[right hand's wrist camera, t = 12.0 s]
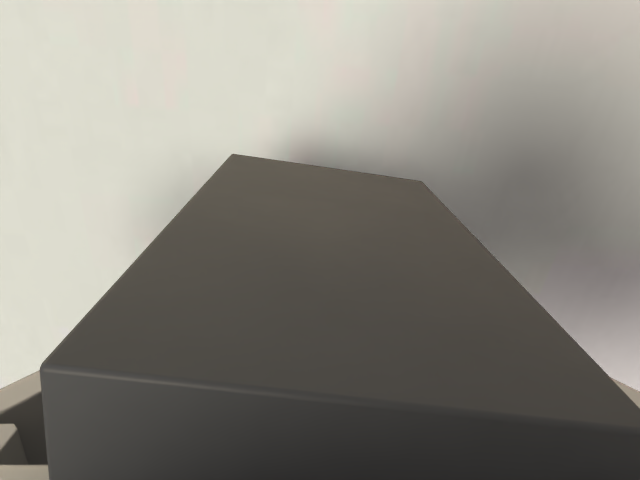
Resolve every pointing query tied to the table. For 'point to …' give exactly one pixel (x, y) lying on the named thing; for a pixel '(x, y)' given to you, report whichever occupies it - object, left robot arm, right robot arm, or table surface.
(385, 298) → the box
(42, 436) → the right robot arm
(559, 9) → the table surface
